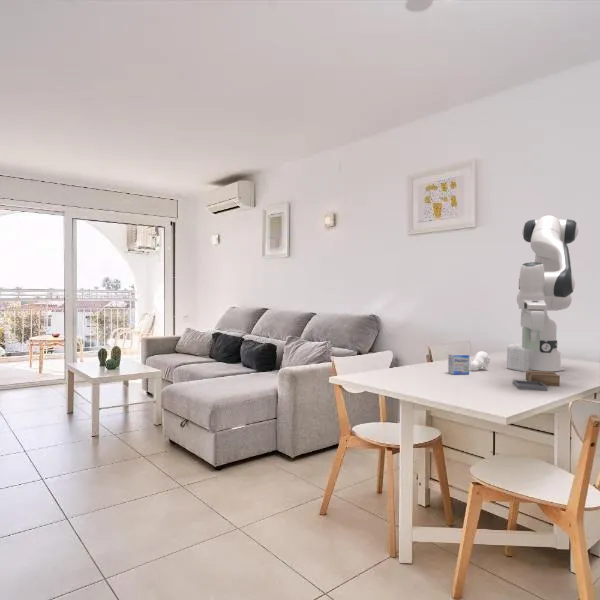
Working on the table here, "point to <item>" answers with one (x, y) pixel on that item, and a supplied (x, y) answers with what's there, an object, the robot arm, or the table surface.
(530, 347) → the plug block
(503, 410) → the table surface
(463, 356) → the medicine box
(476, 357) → the white lumpy piece
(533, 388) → the charcoal tray
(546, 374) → the walnut stand
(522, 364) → the white upright block
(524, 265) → the robot arm
